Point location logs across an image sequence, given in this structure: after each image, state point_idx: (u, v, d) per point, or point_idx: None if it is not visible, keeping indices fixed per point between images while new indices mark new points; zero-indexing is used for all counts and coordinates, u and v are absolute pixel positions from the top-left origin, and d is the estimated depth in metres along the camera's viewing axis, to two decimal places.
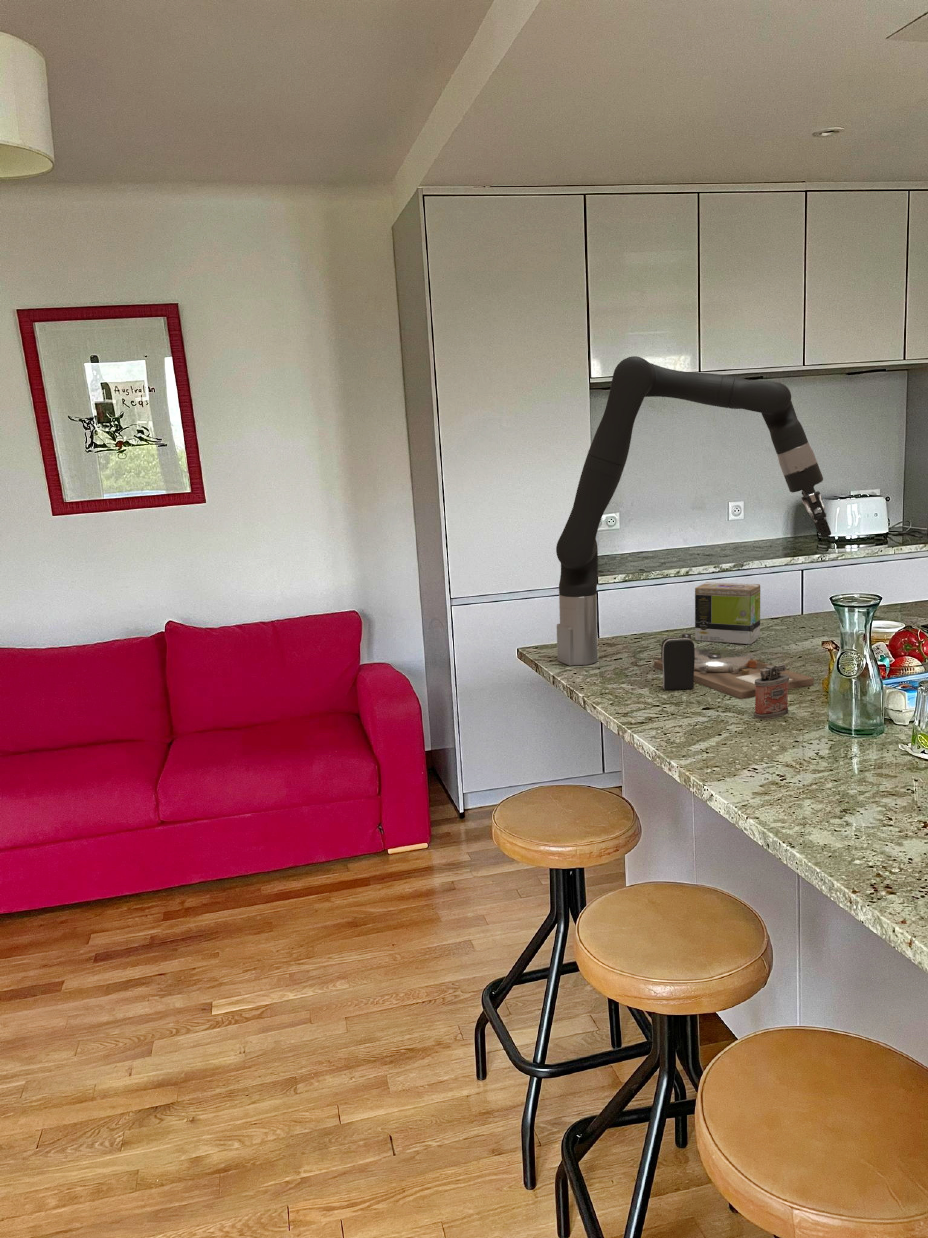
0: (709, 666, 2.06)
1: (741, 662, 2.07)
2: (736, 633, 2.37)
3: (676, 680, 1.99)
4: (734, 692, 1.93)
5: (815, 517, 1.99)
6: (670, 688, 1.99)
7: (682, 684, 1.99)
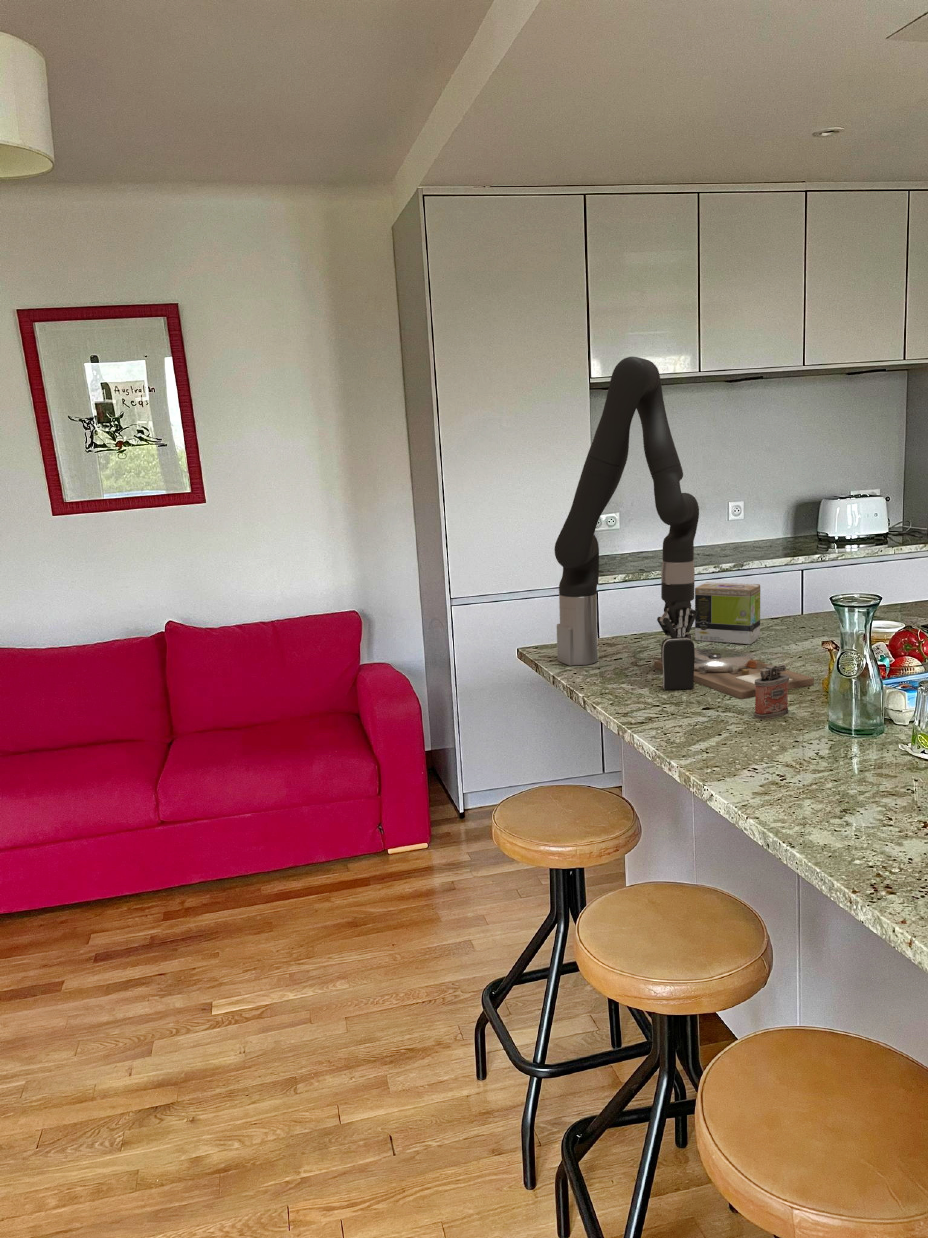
0: (709, 666, 2.06)
1: (741, 662, 2.07)
2: (736, 633, 2.37)
3: (676, 680, 1.99)
4: (734, 692, 1.93)
5: (665, 632, 2.12)
6: (670, 688, 1.99)
7: (682, 684, 1.99)
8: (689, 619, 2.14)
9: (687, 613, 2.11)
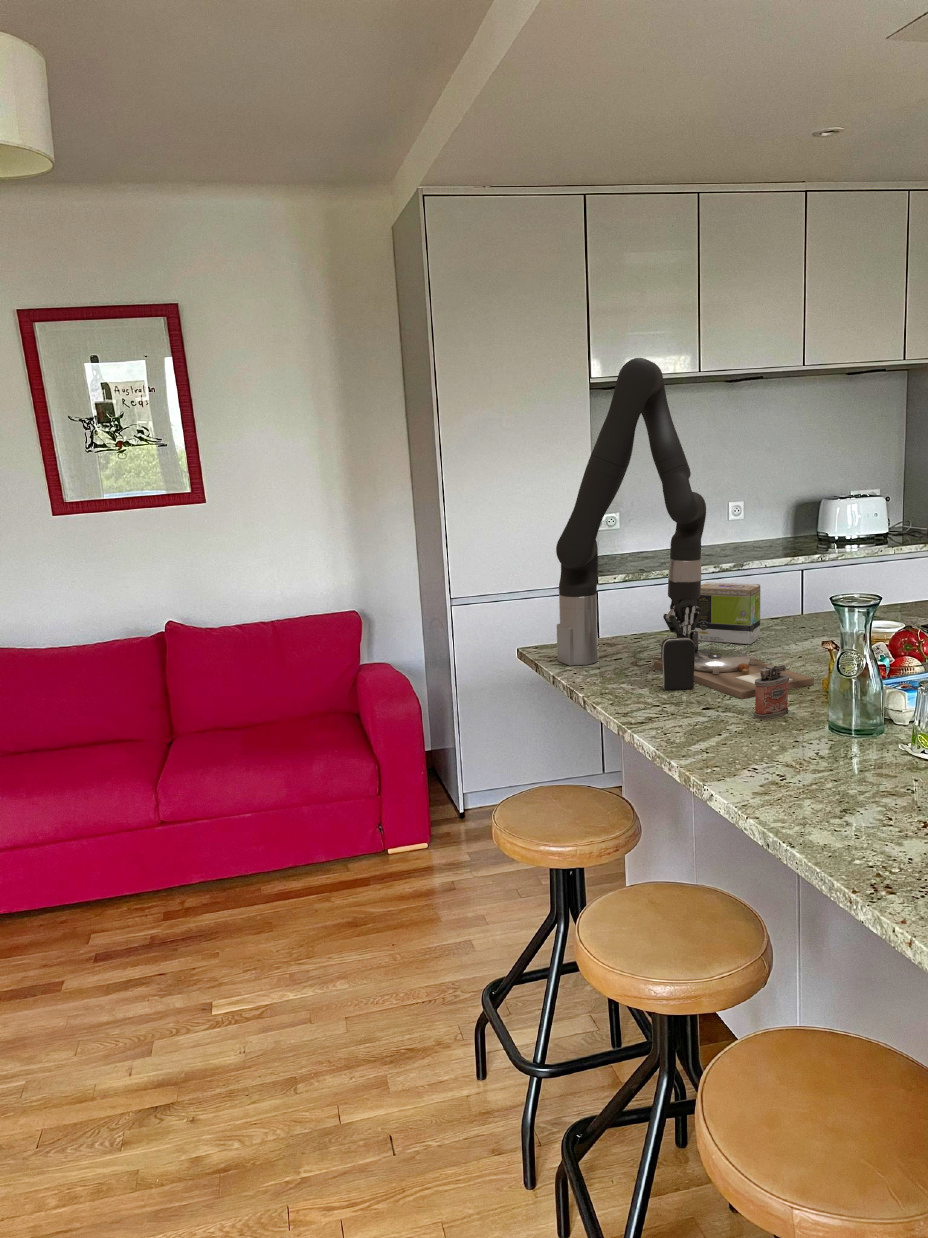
0: None
1: (729, 664, 2.06)
2: (736, 633, 2.37)
3: (676, 680, 1.99)
4: (734, 692, 1.93)
5: (671, 629, 2.14)
6: (670, 688, 1.99)
7: (682, 684, 1.99)
8: (694, 617, 2.17)
9: (693, 611, 2.14)
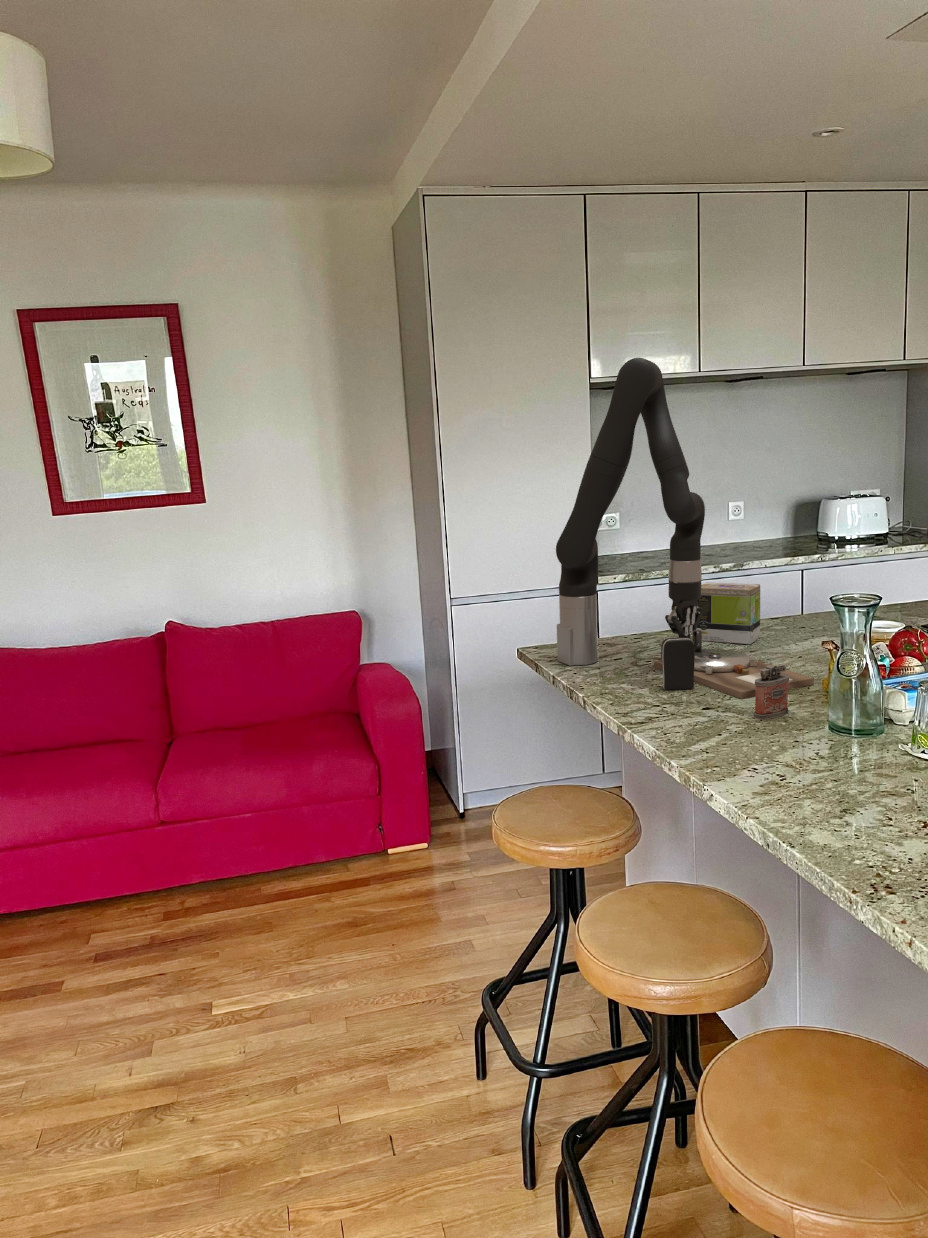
0: None
1: (724, 665, 2.06)
2: (736, 633, 2.37)
3: (676, 680, 1.99)
4: (734, 692, 1.93)
5: (673, 630, 2.14)
6: (670, 688, 1.99)
7: (682, 684, 1.99)
8: (696, 617, 2.17)
9: (694, 611, 2.14)
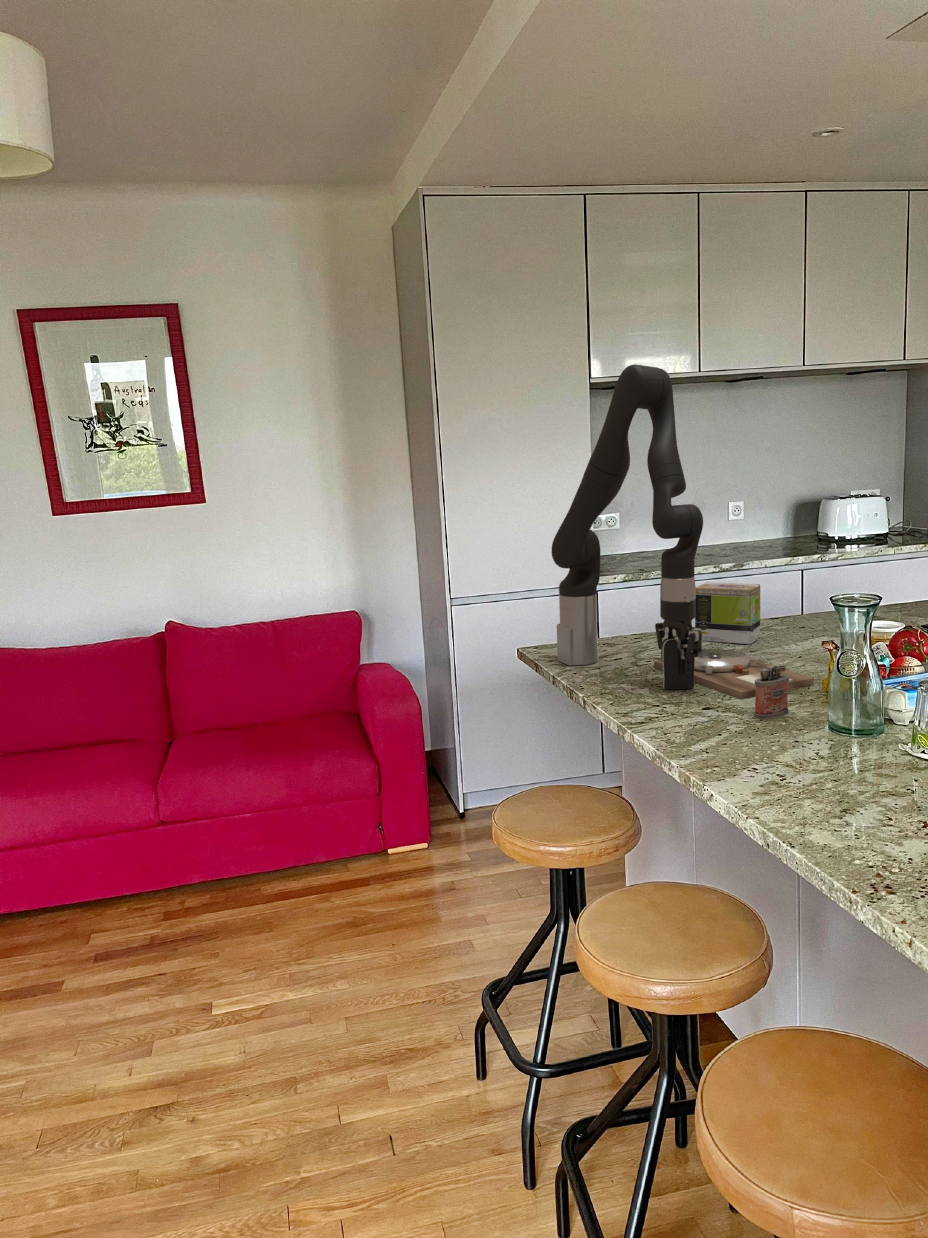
0: None
1: (724, 665, 2.06)
2: (736, 633, 2.37)
3: (676, 680, 1.99)
4: (734, 692, 1.93)
5: (690, 655, 1.94)
6: (670, 688, 1.99)
7: (682, 684, 1.99)
8: None
9: None
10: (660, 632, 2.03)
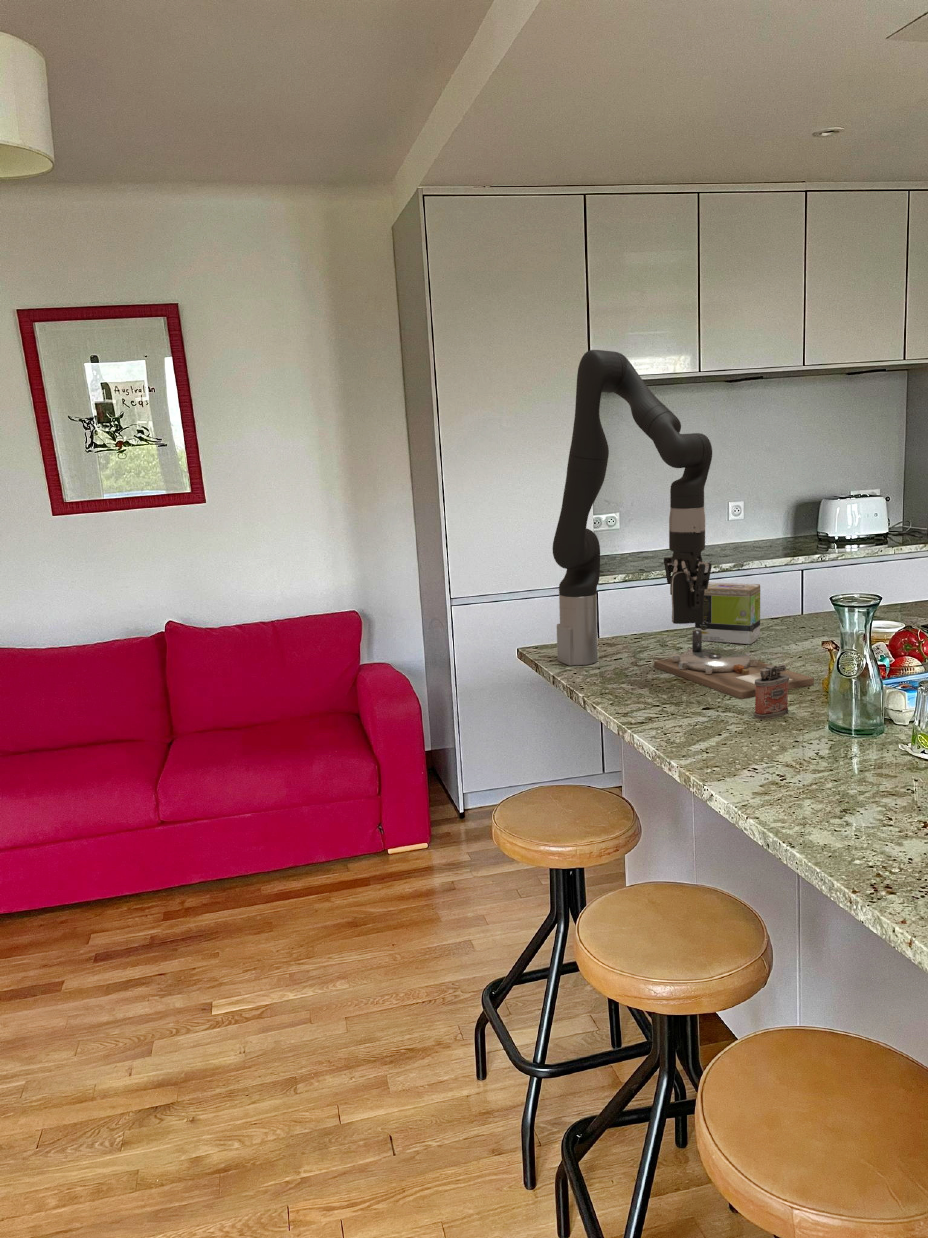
0: (689, 663, 2.09)
1: (724, 665, 2.06)
2: (736, 633, 2.37)
3: (685, 614, 1.96)
4: (734, 692, 1.93)
5: (699, 587, 1.91)
6: (679, 622, 1.96)
7: (692, 618, 1.96)
8: None
9: None
10: (669, 566, 2.00)
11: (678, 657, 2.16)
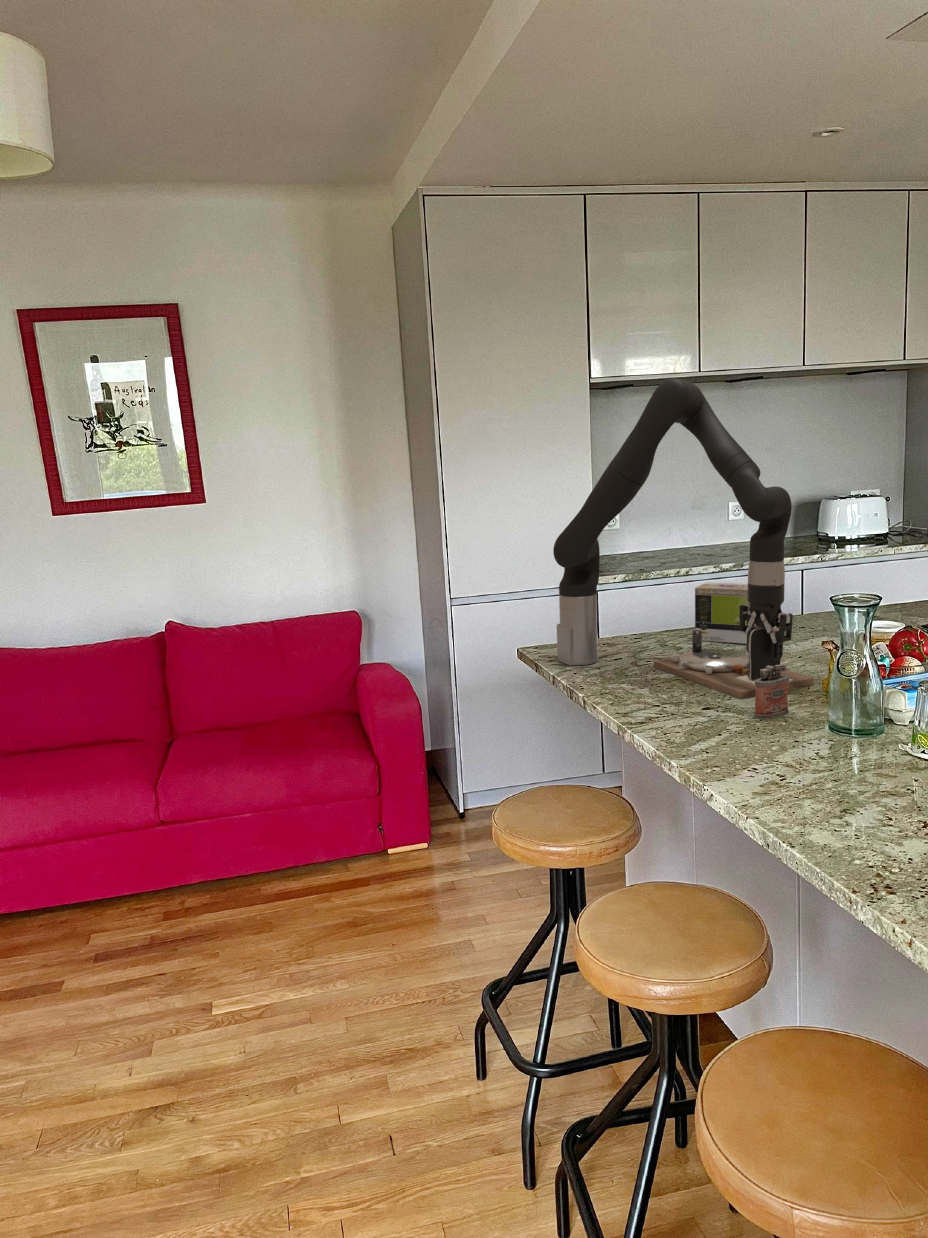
0: (689, 663, 2.09)
1: (724, 665, 2.06)
2: (736, 633, 2.37)
3: None
4: (734, 692, 1.93)
5: (783, 638, 1.90)
6: (757, 678, 1.97)
7: None
8: (750, 617, 2.01)
9: None
10: (744, 615, 2.00)
11: (678, 657, 2.16)
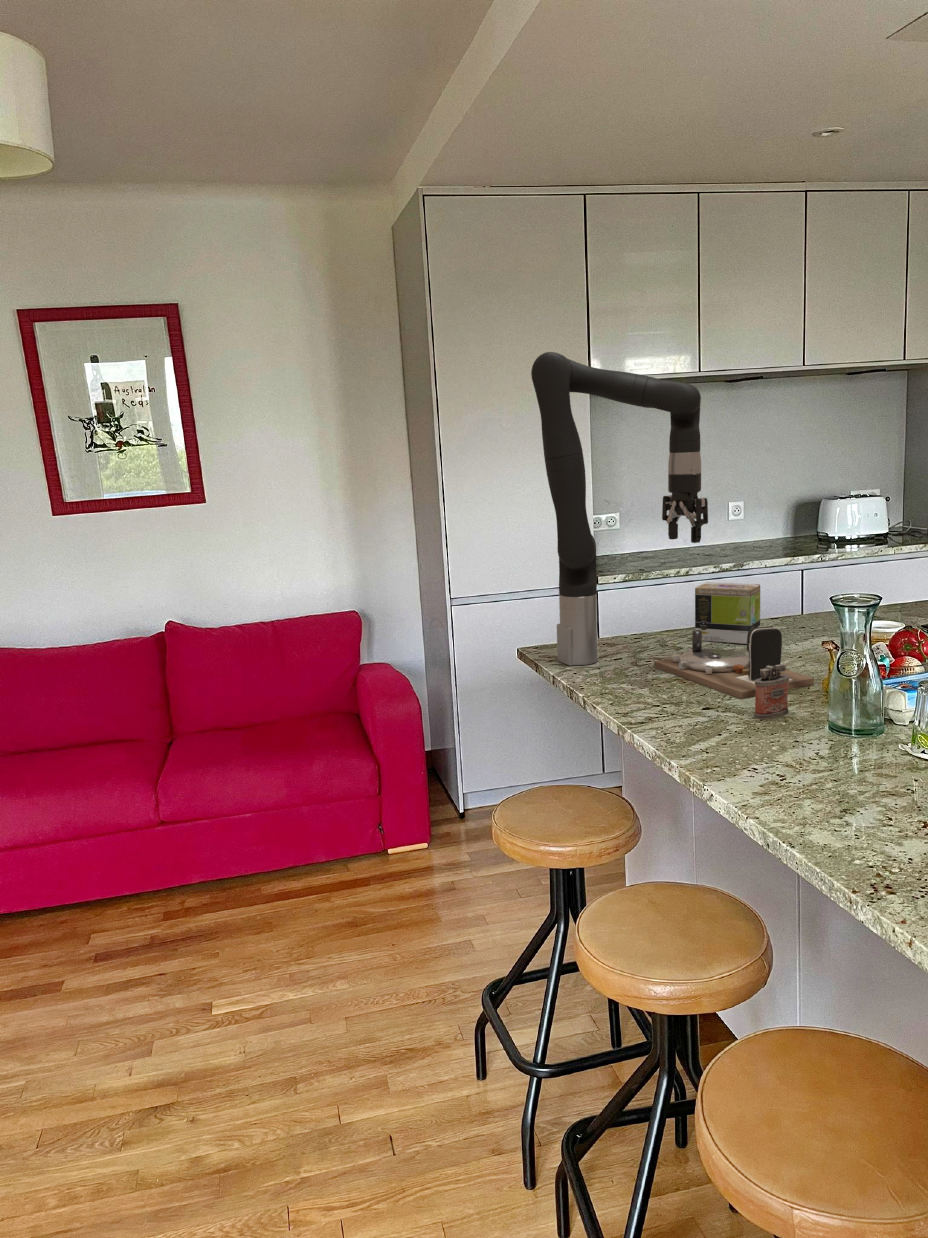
0: (689, 663, 2.09)
1: (724, 665, 2.06)
2: (736, 633, 2.37)
3: None
4: (734, 692, 1.93)
5: (700, 521, 2.07)
6: (757, 678, 1.97)
7: None
8: (671, 507, 2.19)
9: None
10: (666, 505, 2.18)
11: (678, 657, 2.16)
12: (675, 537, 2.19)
